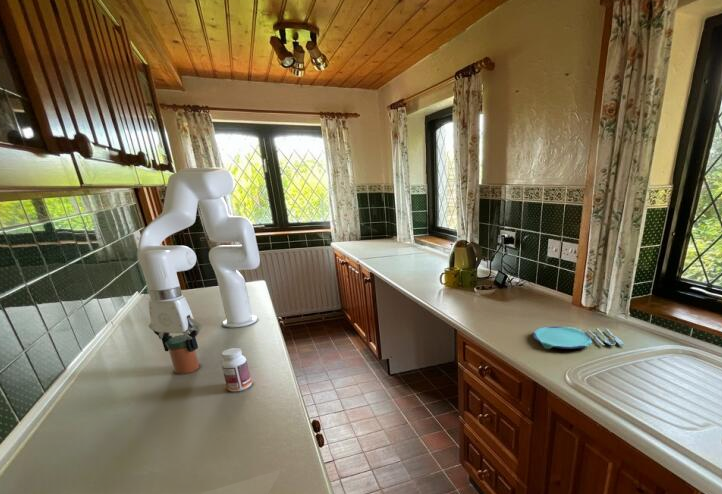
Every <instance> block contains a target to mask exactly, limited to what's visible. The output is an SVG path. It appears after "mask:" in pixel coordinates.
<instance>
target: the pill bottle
mask: <svg viewBox="0 0 722 494" xmlns="http://www.w3.org/2000/svg"><path fill="white" fill-rule="evenodd" d="M242 354H243V352H242V349H241V348H239V347H231V348H228V349H225V350H223V351H221V357H222V360H221V361H220V365H221V369H222V374H223V377H224V381H225V383H226V384H225V385H226V389H227V390H228V391H229V392H242V391H244V390H247V389H248V388H250V387H251V386H252V384H253V382H252V377H251V374H250V369H249V365H248V361H247V358H246V356H245V355H242Z"/></svg>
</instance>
